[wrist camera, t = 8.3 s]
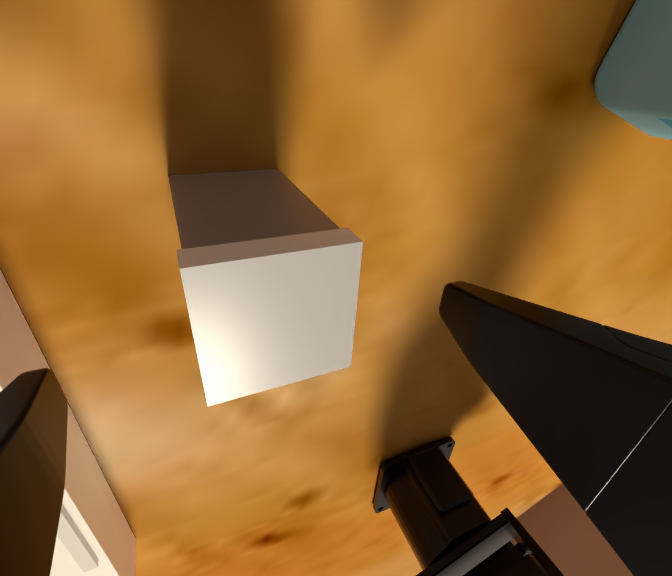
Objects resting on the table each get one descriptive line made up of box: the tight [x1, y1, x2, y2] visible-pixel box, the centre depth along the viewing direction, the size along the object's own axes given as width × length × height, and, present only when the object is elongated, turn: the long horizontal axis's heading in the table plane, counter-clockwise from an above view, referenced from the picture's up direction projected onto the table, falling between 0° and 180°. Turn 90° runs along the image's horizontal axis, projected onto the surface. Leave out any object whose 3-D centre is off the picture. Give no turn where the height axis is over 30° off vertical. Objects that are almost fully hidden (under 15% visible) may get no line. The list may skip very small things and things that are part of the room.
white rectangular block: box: [168, 169, 363, 406], centre depth 11 cm, size 4×4×6 cm
